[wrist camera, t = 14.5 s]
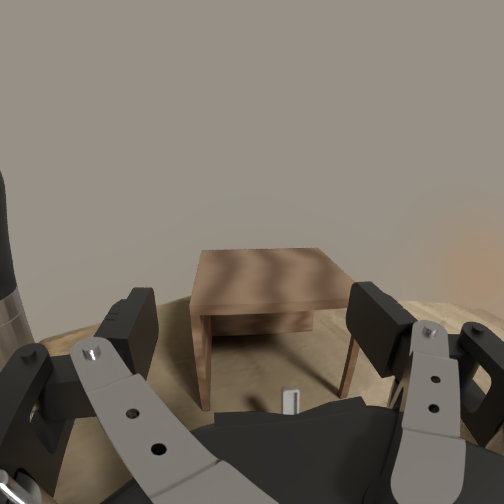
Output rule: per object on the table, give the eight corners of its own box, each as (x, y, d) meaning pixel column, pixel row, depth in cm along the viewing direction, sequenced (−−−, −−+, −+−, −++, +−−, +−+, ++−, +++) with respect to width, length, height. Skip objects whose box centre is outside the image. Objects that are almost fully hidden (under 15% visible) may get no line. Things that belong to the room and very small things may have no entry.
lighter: (300, 470, 25) (310, 430, 22) (284, 471, 25) (292, 432, 22) (291, 426, 32) (297, 382, 29) (277, 427, 31) (281, 383, 29)
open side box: (202, 410, 34) (189, 305, 29) (206, 333, 53) (201, 250, 48) (346, 397, 36) (369, 296, 31) (310, 327, 55) (318, 247, 50)
